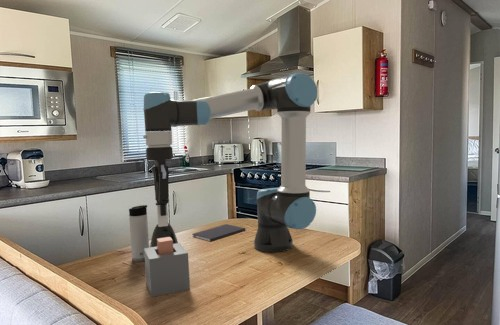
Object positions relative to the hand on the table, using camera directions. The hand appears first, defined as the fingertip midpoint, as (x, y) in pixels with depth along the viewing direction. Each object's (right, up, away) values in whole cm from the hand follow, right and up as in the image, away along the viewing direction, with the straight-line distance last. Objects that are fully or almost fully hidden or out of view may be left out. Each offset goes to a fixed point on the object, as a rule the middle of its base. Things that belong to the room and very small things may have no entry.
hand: (163, 225), depth 111 cm
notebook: (+12, -14, +58) cm, 61 cm away
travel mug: (-14, -17, +27) cm, 35 cm away
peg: (+1, -14, +2) cm, 14 cm away
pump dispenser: (-4, -17, +21) cm, 27 cm away
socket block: (+1, -19, +2) cm, 19 cm away
